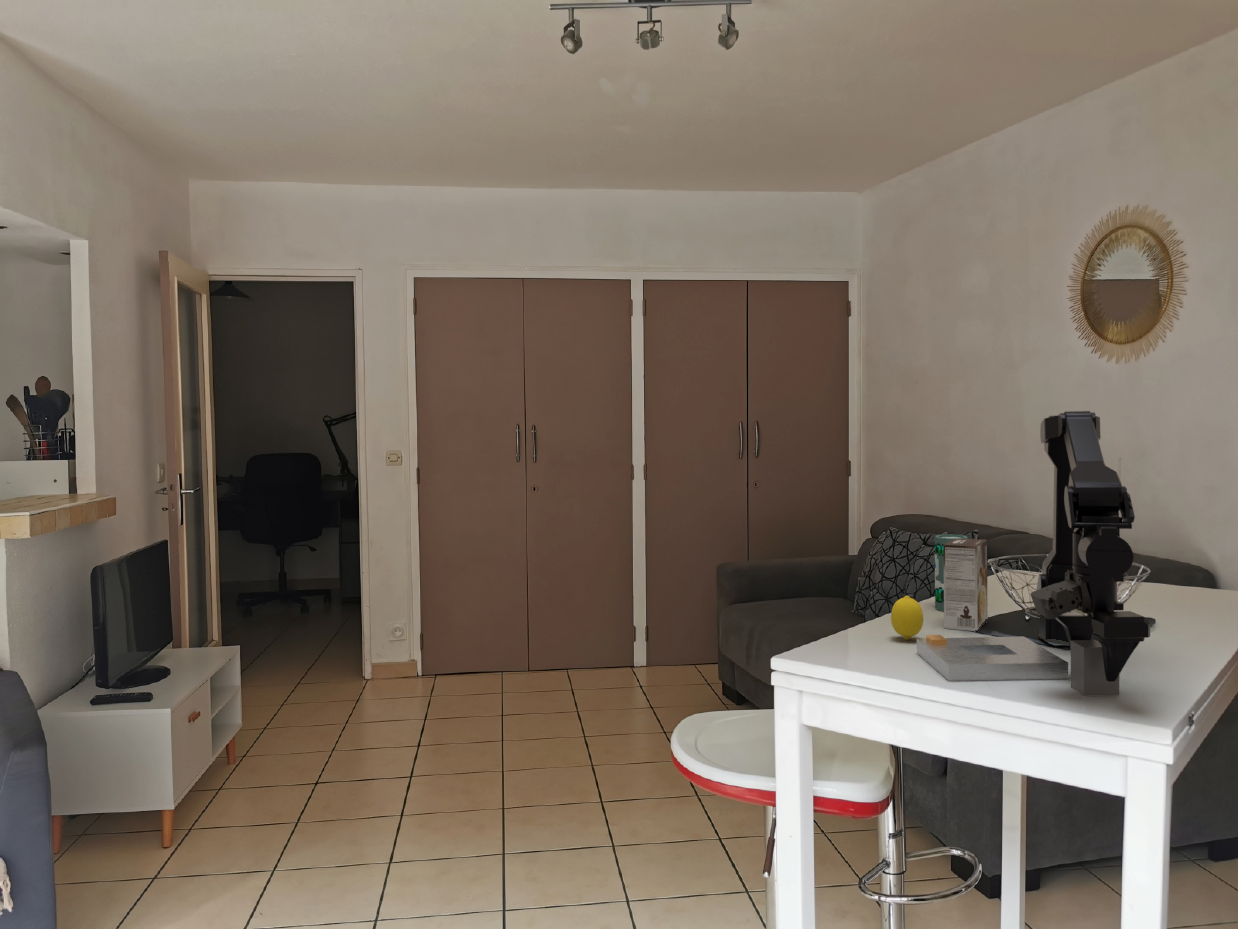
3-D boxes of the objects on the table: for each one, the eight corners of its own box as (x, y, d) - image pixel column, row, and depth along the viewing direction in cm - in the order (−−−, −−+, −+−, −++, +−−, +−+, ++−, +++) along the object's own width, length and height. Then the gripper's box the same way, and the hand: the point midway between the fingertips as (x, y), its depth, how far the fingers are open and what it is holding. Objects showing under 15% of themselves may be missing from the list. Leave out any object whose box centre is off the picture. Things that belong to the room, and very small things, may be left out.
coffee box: (953, 618, 178) (953, 537, 177) (988, 622, 175) (988, 539, 174) (943, 628, 171) (942, 543, 170) (979, 632, 167) (978, 545, 166)
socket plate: (1023, 651, 154) (1023, 631, 154) (1068, 678, 138) (1068, 657, 138) (916, 653, 154) (916, 633, 154) (948, 681, 138) (948, 659, 138)
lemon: (925, 644, 160) (925, 599, 159) (892, 643, 161) (892, 598, 161) (921, 636, 165) (921, 593, 165) (889, 635, 166) (889, 592, 166)
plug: (1105, 686, 134) (1105, 639, 133) (1119, 695, 130) (1119, 646, 129) (1070, 687, 134) (1070, 640, 133) (1083, 695, 130) (1083, 647, 129)
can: (941, 604, 191) (940, 533, 190) (971, 607, 187) (970, 535, 187) (932, 610, 186) (931, 537, 185) (962, 613, 182) (962, 539, 182)
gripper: (1011, 556, 140) (1012, 655, 141) (1068, 578, 122) (1068, 692, 123) (1085, 554, 140) (1084, 654, 141) (1153, 576, 121) (1152, 691, 122)
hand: (1094, 672), depth 132 cm, fingers open, 9 cm apart
